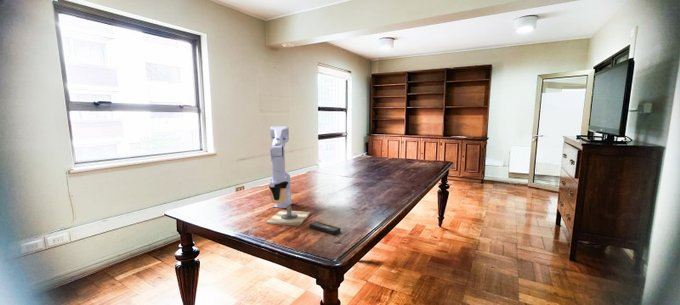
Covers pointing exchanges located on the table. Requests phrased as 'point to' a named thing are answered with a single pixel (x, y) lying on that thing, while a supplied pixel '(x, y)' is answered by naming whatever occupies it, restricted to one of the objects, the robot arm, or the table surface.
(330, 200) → the table surface
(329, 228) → the multiport hub
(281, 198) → the collar
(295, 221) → the post board
